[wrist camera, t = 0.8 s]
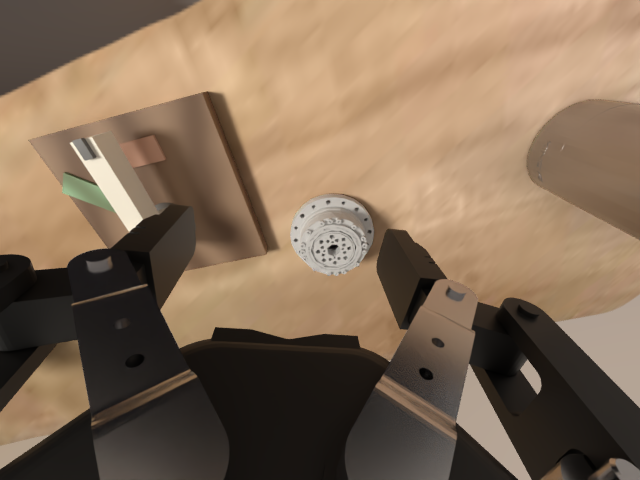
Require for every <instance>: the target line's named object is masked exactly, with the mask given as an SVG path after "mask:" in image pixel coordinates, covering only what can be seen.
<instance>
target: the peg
mask: <svg viewBox="0 0 640 480" xmlns="http://www.w3.org/2000/svg"><path fill="white" fill-rule="evenodd" d="M70 144H71V146H72V147H73V149H74V150H75V152H76V153H77V155H78V156H79V158H80V159H81V161H82V162H83V164H84V165H85V167H86V168H87V170H88V171H89V173H90V174H91V176H92V177H93V179H94V180H95V182H96V183H97V185H98V186H99V188H100V189H101V191H102V192H103V194H104V195H105V197H106V198H107V200H108V201H109V203H110V204H111V206H112V207H113V209H114V210H115V212H116V213H117V215H118V216H119V218H120V219H121V221H122V222H123V224H124V225H125V227H126V228H127V230H128V231H129V232H130V231H131V230H132V229H133V228H134V227H135V228H136V225H137V224H139V223H140V222H141V221H142V220H143V219H145V218H148V217H150V216H153V215H155V214H157V215H160V214H161V213H162V212H163V211H164V210H165V209H166V208H164V209H160V210H158V211H157V209H156V207H155V205H154V204H153V202H152V200H151V199H150V197H149V195H148V193H147V192H146V190H145V188H144V187H143V185H142V183H141V181H140V180H139V178H138V176H137V174H136V173H135V171H134V169H133V168H132V166H131V164H130V162H129V161H128V159H127V157H126V156H125V154H124V152H123V150H122V149H121V147H120V145H119V144H118V142H117V140H116V138H115V137H114V135H113V133H112V132H111V131H109V132H105V133H101V134H98V135H94V136H90V137H87V138H80V139H77V140H73V141H72V142H71V143H70Z"/></svg>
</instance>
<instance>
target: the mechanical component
mask: <svg viewBox="0 0 640 480" xmlns="http://www.w3.org/2000/svg"><path fill="white" fill-rule="evenodd" d="M327 200H329V201H327ZM356 207H357V208H356ZM290 236H291V242H292V246H293V248H294V250H295V251H296V253H297V254H298V255H299V257H300V258H301V259H302V260H303V261H304V262H306V263H307V264H308V265H309V266H310V267H311V268H312V270H313V271H318V272H321V273H324V274H327V275H328V276H330V275H331V274H334V275H335V276H338V275H339V274H340V273H342V274H346V272H347V271H349V270H351V269H353V268H354V267H357V266H359V263H360V262H361V261H362V259H363V258H364V256H365V255H366V254H367V253H368V251H369V249H370V247H371V245H372V243H373V237H374V228H373V223H372V219H371V217H370V214H369V213H368V211H367V210H366V209H365V207H364V206H363V205H362V204H360V203H359V202H358V201H356V200H355V199H353V198H351V197H348V196H346V195H343V194H325V195H320V196H317V197H315V198H312V199H311V200H309V201H308V202H306V203H305V204H303V205H302V206H301V208H300V209H299V210H298V211H297V213H296V214H295V216H294V218H293V221H292V226H291V234H290Z"/></svg>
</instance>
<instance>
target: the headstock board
mask: <svg viewBox="0 0 640 480" xmlns="http://www.w3.org/2000/svg"><path fill="white" fill-rule="evenodd" d="M109 131H111V132H112V133H113V135H114V137H115V138H116V140H117V142H118V144H119V145H120V147H121V149H122V150H123V152H124V154H125V156H126V157H127V159H128V161H129V162H130V164H131V166H132V168H133V169H134V171H135V173H136V174H137V176H138V178H139V180H140V181H141V183H142V185H143V187H144V188H145V190H146V192H147V193H148V195H149V197H150V199H151V200H152V202H153V204H154V205H155V207H156V209H157V211H158V210H160V209H164V208H167V207H168V206H169V205H170V204H177V205H186V206H192V207H193V210H194V219H195V235H196V247H195V252H194V255H193V257H192V259H191V260H190V262H189V264H188V265H187V267H186V268H185V270H184V271H187V270H192V269H197V268H202V267H207V266H212V265H217V264H222V263H227V262H231V261H236V260H241V259H246V258H251V257H256V256H261V255H266V254H267V250H268V246H267V244H266V241H265V239H264V236H263V233H262V231H261V228H260V226H259V223H258V221H257V218H256V215H255V213H254V210H253V208H252V205H251V203H250V200H249V197H248V195H247V192H246V190H245V187H244V184H243V182H242V179H241V177H240V174H239V172H238V169H237V166H236V164H235V161H234V159H233V156H232V154H231V151H230V148H229V146H228V143H227V141H226V138H225V135H224V133H223V130H222V128H221V125H220V123H219V120H218V117H217V115H216V112H215V110H214V107H213V105H212V102H211V99H210V97H209V94H208V92H203V93H199V94H195V95H192V96H188V97H184V98H181V99H177V100H173V101H170V102H166V103H162V104H159V105H155V106H151V107H148V108H144V109H140V110H136V111H133V112H129V113H125V114H122V115H118V116H114V117H111V118H107V119H103V120H100V121H96V122H92V123H89V124H85V125H81V126H78V127H74V128H70V129H67V130H63V131H59V132H56V133H52V134H48V135H45V136H41V137H37V138H34V139H30V140H28V141H29V142H30V143H31V145H32V146H33V147H34V149H35V150H36V151H37V153H38V154H39V155H40V157H41V158H42V160H43V161H44V162H45V164H46V165H47V166H48V168H49V169H50V170H51V172H52V173H53V174H54V176H55V177H56V179H57V180H58V181H59V183H60V184H61V185H62V187H63V192H62V193H64V194H67V195H69V196H70V197H71V199H72V200H73V202H74V203H75V204H76V206H77V207H78V208H79V210H80V211H81V212H82V214H83V215H84V216H85V218H86V219H87V221H88V222H89V223H90V225H91V226H92V227H93V229H94V230H95V231H96V233H97V234H98V235H99V237H100V238H101V239H102V241H103V242H104V244H105V245H106V246H107V248H108V249H110V248H112V247H113V246H114V245H115V244H116V243H117V242H118V241H119V240H121V239H122V238H123V237H124V236H125V235H126V234H127V233H129V231H128V230H127V228H126V227H125V225H124V224H123V222H122V221H121V219H120V218H119V216H118V215H117V213H116V212H115V210H114V209H113V207H112V206H111V204H110V203H109V201H108V200H107V198H106V197H105V195H104V194H103V192H102V191H101V189H100V188H99V186H98V185H97V183H96V182H95V180H94V179H93V177H92V176H91V174H90V173H89V171H88V170H87V168H86V167H85V165H84V164H83V162H82V161H81V159H80V158H79V156H78V155H77V153H76V152H75V150H74V149H73V147H72V146H71V144H70V143H71V142H72V141H73V140H77V139H80V138H87V137H90V136H94V135H98V134H101V133H105V132H109Z"/></svg>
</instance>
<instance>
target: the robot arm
mask: <svg viewBox="0 0 640 480" xmlns="http://www.w3.org/2000/svg"><path fill="white" fill-rule="evenodd" d="M527 169H528V173H529V176H530V177H531V179H532V181H533V182H534V183H536V184H537V185H538V186H540V187H542V188H544V189H546V190H547V191H549V192H551V193H553V194H555V195H557V196H559V197H560V198H562V199H564V200H566V201H567V202H569V203H571V204H573V205H575V206H577V207H579V208H581V209H582V210H584V211H586V212H588V213H590V214H592V215H594V216H596V217H597V218H599V219H601V220H603V221H605V222H607V223H609V224H611V225H612V226H614V227H616V228H618V229H620V230H622V231H624V232H626V233H627V234H629V235H631V236H633V237H635V238H637V239H639V240H640V104H634V103H625V102H616V101H608V100H587V101H582V102H579V103H576V104H574V105H571V106H569V107H567V108H566V109H564V110H562V111H561V112H559V113H558V114H557V115H555V116H554V117H553V118H552V119H551V120H549V121H548V122H547V123H546V125H545V126H544V127H543V128H542V129H541V130H540V132H539V133H538V135H537V136H536V137H535V139H534V141H533V143H532V145H531V147H530V150H529V154H528V158H527ZM195 247H196V235H195V219H194V210H193V207H192V206H186V205H177V204H170V205H169V206H168V207H167V208H166V209H165V210H164V211H163V212H162V213H161V214H160V215H157V214H155V215H153V216H150V217H148V218H145V219H143V220H142V221H141V222H140V223H139V224H137V225H136V228H135V227H134V228H133V229H132V230H131V231H130V232H129V233H127V234H126V235H125V236H124V237H123V238H122V239H121V240H119V241H118V242H117V243H116V244H115V245H114V246H113V247H112V248H110V249H97V250H92V251H88V252H85V253H82V254H80V255H78V256H76V257H74V258H73V259H72V260H71V261H70V262H69V263H68V265H67V268H56V269H45V270H34V268H33V265H32V263H31V261H30V259H29V258H28V257H25V256H22V255H14V254H8V255H0V412H1V411H2V409H3V408H4V407H5V406H6V405H7V403H8V402H9V401H10V400H11V399H12V397H13V396H14V395H15V394H16V393H17V391H18V390H19V389H20V388H21V387H22V385H23V384H24V383H25V382H26V381H27V379H28V378H29V377H30V376H31V375H32V373H33V372H34V371H35V370H36V369H37V368H38V366H39V365H40V364H41V363H42V362H43V360H44V359H45V358H46V357H47V356H48V354H49V353H50V352H51V351H52V350H53V348H54V347H55V346H56V345H57V343H61V342H67V341H72V340H78V345H79V350H80V356H81V361H82V367H83V372H84V378H85V383H86V389H87V394H88V400H89V405H90V408H89V409H88V410H86V411H85V412H83V413H82V414H81V415H79V416H78V417H76V418H75V419H73V420H72V421H70V422H69V423H67V424H66V425H64V426H63V427H62V428H60V429H59V430H57V431H56V432H54V433H53V434H51V435H50V436H48V437H47V438H45V439H44V440H43V441H41V442H40V443H38V444H37V445H35V446H34V447H32V448H31V449H29V450H28V451H27V452H25V453H24V454H22V455H21V456H19V457H18V458H16V459H15V460H13V461H12V462H10V463H9V464H8V465H6V466H5V467H3V468H2V469H0V480H518V479H517V478H516V477H515V476H514V475H513V474H511V473H510V472H509V471H508V470H507V469H506V468H505V467H504V466H503V465H502V464H501V463H499V462H498V461H497V460H496V459H495V458H494V457H493V456H492V455H491V454H490V453H489V452H488V451H487V450H485V449H484V448H483V447H482V446H481V445H480V444H479V443H478V442H477V441H476V440H475V439H473V438H472V437H471V436H470V435H469V434H468V433H467V432H466V431H465V430H464V429H463V428H462V427H460V426H459V425H458V424H457V423H456V419H457V414H458V410H459V405H460V401H461V396H462V392H463V387H464V383H465V378H466V374H467V369H468V364H470V365H471V367H472V369H473V371H474V373H475V375H476V376H477V378H478V380H479V382H480V384H481V386H482V388H483V389H484V391H485V393H486V395H487V397H488V399H489V401H490V403H491V404H492V406H493V408H494V410H495V412H496V414H497V416H498V418H499V419H500V421H501V423H502V425H503V427H504V429H505V430H506V432H507V434H508V436H509V438H510V440H511V442H512V444H513V445H514V447H515V449H516V451H517V453H518V455H519V457H520V459H521V460H522V462H523V464H524V466H525V468H526V470H527V472H528V474H529V475H530V477H531V479H532V480H640V408H639V407H638V406H637V405H636V404H635V403H634V402H633V401H632V400H631V399H630V398H629V397H628V396H627V395H626V394H625V393H624V392H623V391H622V390H621V389H620V388H619V387H618V386H617V385H616V384H615V383H614V382H613V381H612V380H611V379H610V378H609V377H608V376H607V375H606V373H605V372H603V371H602V370H601V369H600V367H599V366H598V365H597V364H596V363H595V362H594V361H593V360H592V359H591V358H590V357H589V356H588V355H587V354H586V353H585V352H584V351H583V350H582V349H581V348H580V347H579V346H578V345H577V344H576V343H575V342H574V341H573V340H572V339H571V338H570V337H569V336H568V335H567V334H566V333H565V332H564V331H563V330H562V329H561V328H560V327H559V326H558V325H557V324H556V323H555V322H554V321H553V320H552V319H551V318H550V317H549V316H548V315H547V314H546V313H545V312H544V311H543V310H541V309H540V308H538V307H537V306H535V305H533V304H531V303H529V302H527V301H524V300H521V299H517V298H506V299H505V300H504V301H503V303H502V304H501V306H500V308H497V307H493V306H490V305H487V304H483V303H480V302H478V298H477V296H476V294H475V293H474V292H473V291H472V290H471V289H470V288H468V287H467V286H465V285H463V284H461V283H459V282H456V281H453V280H449V279H447V278H446V276H445V275H444V273H443V272H442V271H441V269H440V268H439V267H438V265H437V264H435V261H434V260H433V259H432V258H431V256H430V255H429V253H428V252H427V251H426V249H424V248H423V247H422V246H420V245H419V244H417V243H415V242H414V241H413V240H412V238H411V237H410V235H409V234H408V232H407V231H405V230H396V229H388V230H387V231H386V233H385V236H384V239H383V243H382V246H381V249H380V253H379V256H378V260H377V273H378V276H379V279H380V281H381V283H382V286H383V288H384V291H385V293H386V296H387V298H388V301H389V303H390V306H391V308H392V311H393V313H394V316H395V318H396V321H397V323H398V326H399V328H400V329H406V330H407V332H406V334H405V336H404V337H403V339H402V341H401V343H400V345H399V347H398V348H397V350H396V352H395V354H394V356H393V358H392V359H391V361H390V362H389V361H388V360H386V359H385V358H383V357H381V356H380V355H378V354H376V353H374V352H372V351H369V350H367V349H364V348H361V347H360V345H359V340H358V336H348V335H332V334H321V335H315V336H308V337H302V338H295V339H285V338H281V337H277V336H274V335H270V334H266V333H263V332H259V331H255V330H250V329H234V328H218V327H215V330H214V332H213V335H212V338H211V339H207V340H202V341H198V342H195V343H192V344H189V345H186V346H184V347H182V348H180V349H179V347H178V345H177V343H176V341H175V339H174V337H173V335H172V333H171V331H170V329H169V327H168V325H167V323H166V321H165V319H164V317H163V315H162V313H161V311H160V309H161V308H162V306H163V305H164V303H165V301H166V300H167V298H168V296H169V295H170V293H171V291H172V290H173V288H174V286H175V285H176V283H177V282H178V280H179V278H180V277H181V275H182V273H183V272H184V270H185V268H186V267H187V265H188V264H189V262H190V260H191V259H192V257H193V255H194V252H195ZM527 359H528V360H529V362H530V363H531V364H532V365H533V367H534V368H535V369H536V371H537V372H538V374H539V376H540V378H541V384H542V387H541V390H540V392H539V394H538V395H537V394H536V392H535V391H534V389H533V388H532V386H531V385H530V383H529V382H528V381H527V379H526V378H525V376H524V375H523V374H522V372H521V371H520V369H521V367H522V366H523V365H524V363H525V362H526V361H527Z"/></svg>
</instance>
